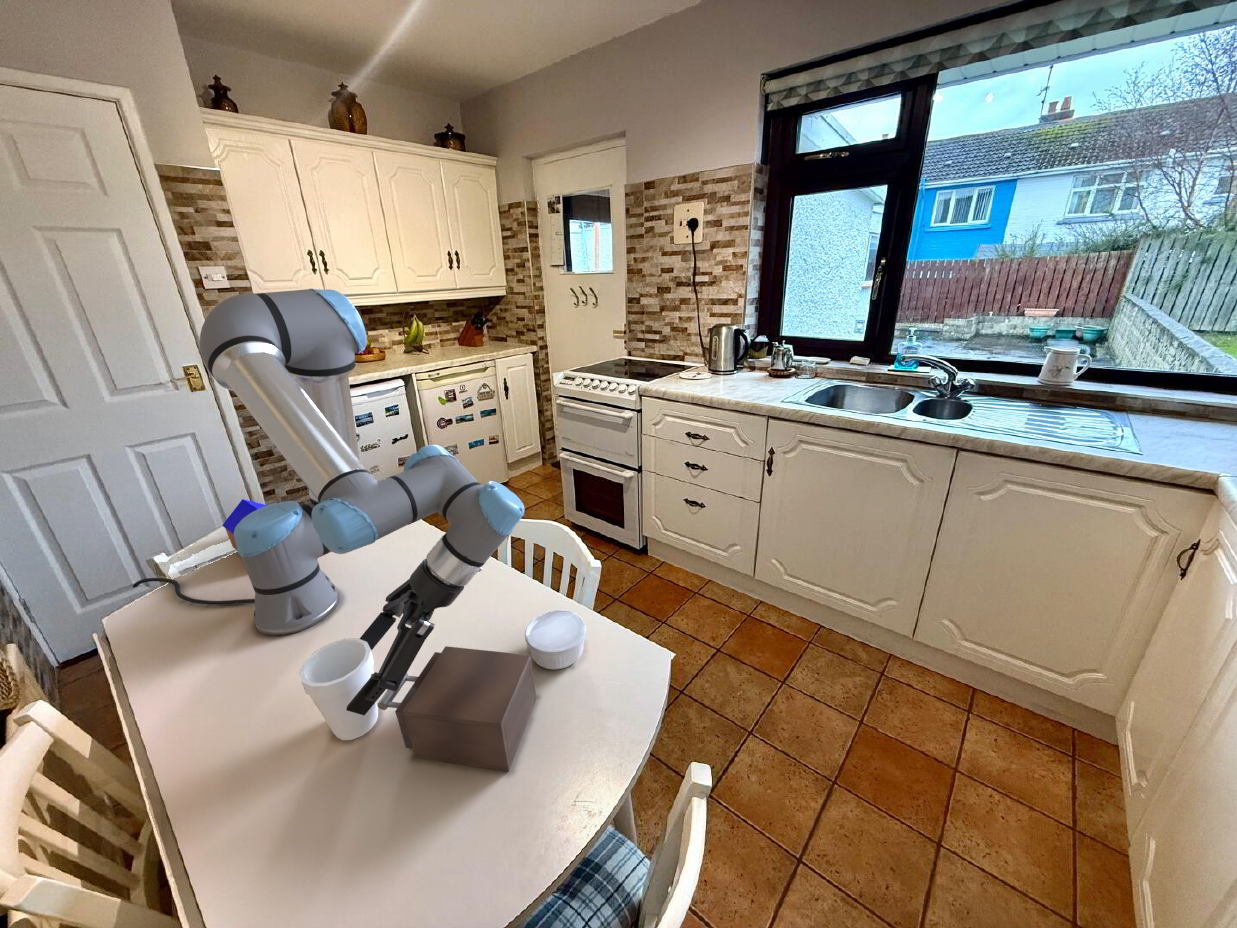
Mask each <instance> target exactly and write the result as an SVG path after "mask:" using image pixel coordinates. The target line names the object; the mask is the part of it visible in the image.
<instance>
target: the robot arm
mask: <svg viewBox="0 0 1237 928" xmlns="http://www.w3.org/2000/svg"><path fill="white" fill-rule="evenodd" d="M367 344H368V338H367V331H366V328H365V325H364V322H363V320H362V318H361V315H360V314H359V312H358V310H357V309H356V307H355V305H354V304H353V303H352V301H351V300H350V299H349V298H348V297H347V296H346V295H344V294H343V293H342V292H340V291H338V290H335V289H330V288H329V289H320V288H319V289H317V288H308V289H306V288H305V289H295V290H281V291H271V292H257V293H256V292H255V293H254V292H247V293H240V294H236V295H232V296H230V297H228V298H226V299H224V300H222V301H221V302H219V303H217V305H215V306H214V307H213V308H212V309H211V310H210V311H209V313H208V314H207V316H206V317H205V319H204V321H203V323H202V326H201V330H200V333H199V351H200V354H201V358H202V361H203V363H204V365H205V368H206V369H207V371H208V372H209V374H210V375H211V376H212V377H213V379H214V381H216V383H217V384H218V385H219V386H220V387H222V388H224V389H226V390H229V391H232V392H233V393H235V395H236V396H237V397H238V399H239V401H240V402H241V403H242V404H243V405H244V407H245V408H246V410H247V411H248V412H249V413H250V414H251V416H252V417H253V418H254V420H255V421H256V422H257V424H258V425H259V426H260V427H261V429H262V430H263V432H264V433H265V434H266V436H267V437H268V439H270V441H271V442H272V443H273V445H274V446H275V447H276V449H277V450H278V451H279V452H280V454H281V456H283V457H284V459H285V460H286V461H287V464H289V466H290V467H291V468H292V470H294V472H295V473H296V475H297V476H298V477H299V478H300V479H301V481H302V482H303V483H304V485H305V486H306V488H307V490H308V496H309V501H307V502H304V503H301V504H299V503H298V502H296V501H293V500H283V501H280V502H278V503H277V502H273V503H270V504H266V505H267V506H264V507H262V508H260V509H258V510H256V511H254V512H252V513H250V514H249V515H247V516H246V517H244V518H243V519H242V520H241V521H240V523H239V524H238V525H237V526H236V528H235V530H234V538H235V542H236V546H237V550H236V552H237V554H238V555H239V556H240V558H241V561H242V563H243V566H244V568H245V571H246V574H247V576H248V578H249V581H250V584H251V586H252V588H253V591H254V598H244V599H230V600H229V599H227V600H205V599H197V598H193V597H190V596H187V595H186V594H183V593H182V592H181V585H180V584H179V582H178V580H175V579H171V578H167V577H166V578H165V577H147V578H143V579H140V580H137V581H136V582H134V583H133V584H132V589H133V588H137V587H138V586H140V585H141V584H144V583H147V582H149V583H151V582H161V583H169V584H172V585H173V586H174V592H175V595H176V596H177V597H178V598H180V599H181V600H184V601H185V602H188V603H193V604H200V605H211V606H214V605H215V606H223V605H238V604H254V611H253V622H254V624H255V628H256V629H257V631H258V632H259V633H261V634H263V635H266V636H285V635H290V634H294V633H298V632H300V631H303V630H306V629H308V628H310V627H313V626H315V625H316V624H318V623H320V622H322V621H323V620H325V619H326V618H327V617H328V616H330V615H331V614H332V613H333V612H334V611H335V609H336V608H337V607H338V605H339V603H340V593H339V590H338V588H337V586H336V585H335V584H334V582H332V579H331V578H330V577H328V576H327V574H326V573H324V572H323V570H322V569H321V567H320V564H319V563H320V562H319V560H318V559H319V558H321V557H323V556H325V555H327V554H330V553H334V554H337V555H345V554H347V553H351V552H353V551H356V550H358V549H362V548H363V547H366V546H369V545H372V544H374V543H375V542H376V541H378V540H380V539H382V538H385V537H386V536H388V535H390V534H392V533H394V532H396V531H398V530H400V529H403V528H405V527H406V526H410V525H412V524H414V523H416V522H419V521H421V520H423V519H425V518H426V517H429V516H431V515H434V514H436V513H438V514H439V515H440V516H441V517H442V518H443V519H444V520H445V521H446V522H448V523H449V525H450V526H449V527H448V529H447V530H446V532H445V533H444V534H443V535H442V536H441V537H440V538H439V540H438V541H437V542H435V545H434V546H433V547H432V548H431V549H430V550H429V552H428V553H427V554H426V557H425V558H424V559H422V561H421V562H420V564H419V565H418V566H417V567H416V568H415V570H414V571H413V572H412V573H411V575H410V577H409V579H407V580H405V581H404V582H403V583H402V584H401V585H399V586H398V587H397V588H395V589H394V590H393V591H391V592H390V593H389V594H387V596H386V597H385V602H386V603H385V604H384V605H383V607H382V612H380V613H379V614H378V615H377V617H376V618H375V619H374V620H373V621H372V622H371V624H370V625H369V626H368V627H367V628H366V630H365V631H364V632H363V633H362V635H361V636H360V637H359V639H361V640H363V641H366V642H367V643H368V645H369V647H370V649H371V651H373V650H374V649H375V647H376V646H377V645H378V644H379V642H380V641H381V640H382V639H383V638H384V636H385V635H386V634H387V632H388V631H389V630H390V629H391V628H392V626H394V624H395V623H396V621H397V618H400V620H399V622H398V624H397V625H396V630H397V634H396V636H395V637H394V640H393V642H392V644H391V646H390V648H389V650H388V652H387V653H386V656H385V658H384V660H383V662H382V664H381V666H380V668H379V670H378V672H377V671H374V674H372V675H371V678H370V679H369V680H368V681H367V682H366V684H365V685H364V686H363V687H362V689H361V690H360V691H359V692H358V693H357V695H356V696H355V697H354V698H353V699H352V701H351V702H350V703H349V704H348V705H347V709H346V710H347V711H350V712H354V713H357V714H361V715H364V716H365V714H366V713H367V712H368V711H369V709H370V708H371V707H372V706H373V705H374V703H375V702H376V701H377V702H378V701H379V699H380V698H381V696H383V695H384V694H385V692H386V691H387V690H391V691H394V692H395V691H396V690H397V689H398V687H399V686H400V684H401V682H402V680H403V678H404V677H405V675H406V673H407V674H408V672H409V670H410V668H411V666H412V665H413V663H414V661H415V659H416V657H417V655H418V654H419V652H420V650H421V648H422V647H423V645H424V643H425V641H426V640H427V639H428V637H429V635H430V634H431V633H432V632H433V630H434V629H435V623H433V622H431V621H430V620H431V618H432V616H433V615H434V612H435V610H437V609H440V608H448V607H449V606H451V605H452V604H453V603H454V602H455V600H456V599H458V597H459V596H460V594H461V593H462V592H463V591H464V589H465V586H468V584H469V583H470V581H472V580H473V578H475V576H476V575H477V573H480V572H482V571H483V566H484V565H485V564H486V563H487V562H488V560H489V559H490V558H491V557H492V555H493V554H494V553H495V552H496V551H497V549H498V548H499V547H500V546H501V545H502V544H503V543H504V541H506V539H508V537H509V536H510V535H511V534H512V533H513V531H514V529H515V528H516V526H517V525H518V524H519V522H520V521H521V519H522V518H523V517H524V514H525V513H526V512H525V505H524V503H523V502H522V500H521V499H520V498H519V496H518V495H517V494H515V493H514V492H513V491H511V490H510V489H509V488H508V487H506V486H505V485H503V484H502V483H500V482H497V481H493V480H490V481H488V482H486V483H485V484H484V485H483V484H482V483H481V482H479V481H478V480H477V479H476V478H475V477H474V476H473V474H472V473H470V472H469V470H468V469H467V468H466V467H465V466H464V465H463V464H462V462H461V461H460V460H459V459H458V458H457V457H456V456H454V455H453V454H452V453H451V452H449V451H448V450H446V449H445V448H444V447H443V446H440V445H437V444H429V445H425V446H422V447H419V449H418V451H417V452H413V453H412V454H410V456H409V457H408V458H407V459H406V461H405V463H404V466H403V471H402V472H399V473H397V474H394V475H390V476H388V477H385V478H383V479H380V480H377V479H376V478H375V476H374V475H373V474H371V472H370V471H369V470H368V469H367V467H366V466H365V465H364V464H363V462H362V461H361V460H360V451H359V443H358V438H357V431H356V422H355V415H354V407H353V400H352V394H351V387H350V380H349V375H350V374H351V373H352V372H354V371H355V369H356V367H357V364H356V363H357V362H356V355H358V354H361V353H363V352H364V351H365V349H366V347H367ZM355 354H356V355H355ZM396 617H397V618H396ZM407 625H408V626H407ZM409 626H410V627H409Z"/></svg>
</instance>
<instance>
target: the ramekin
mask: <svg viewBox="0 0 1237 928" xmlns="http://www.w3.org/2000/svg"><path fill="white" fill-rule="evenodd" d="M586 636H587V625H586V622H585V620H584V619H583V618H582V617H581V615H579V614H578V613H576V612H574V611H572V610H568V609H567V610H566V609H554V610H548V611H546V612H543V613H541V614H539V615H537V616H535V617H534V618H533V619H532V620H531V621H529V623H528V624H527V626H526V628H525V631H524V639H525V642H526V645H527V647H528V649H529V653H530V655H531V659H533V661H534V662H535V663H536V664H537V665H538V666H540V667H542V668H545V669H548V670H563V669H565V668H567V667H570V666H571V665H573V664H574V663H575V662H577V661H578V660H579V659H580V657H581V656H582V654H583V651H584V647H585V638H586Z"/></svg>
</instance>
